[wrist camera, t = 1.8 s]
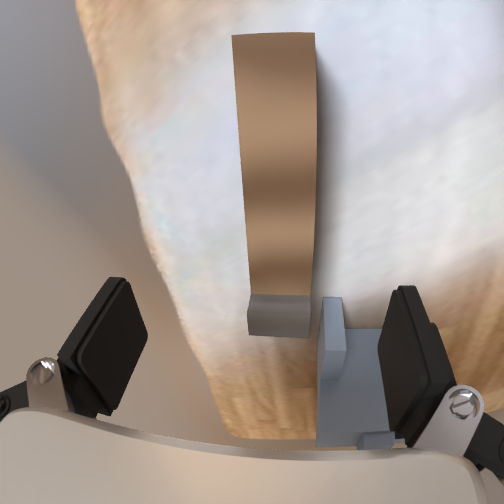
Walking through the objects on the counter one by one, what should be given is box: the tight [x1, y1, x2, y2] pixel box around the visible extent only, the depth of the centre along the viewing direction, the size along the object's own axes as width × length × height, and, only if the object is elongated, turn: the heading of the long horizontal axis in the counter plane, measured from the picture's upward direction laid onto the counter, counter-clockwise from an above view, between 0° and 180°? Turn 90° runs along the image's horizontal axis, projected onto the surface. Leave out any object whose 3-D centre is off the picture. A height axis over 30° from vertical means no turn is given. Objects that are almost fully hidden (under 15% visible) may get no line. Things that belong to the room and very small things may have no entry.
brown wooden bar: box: [232, 32, 317, 338], centre depth 19 cm, size 18×4×7 cm, turn 3°
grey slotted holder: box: [316, 297, 405, 450], centre depth 24 cm, size 7×9×12 cm
